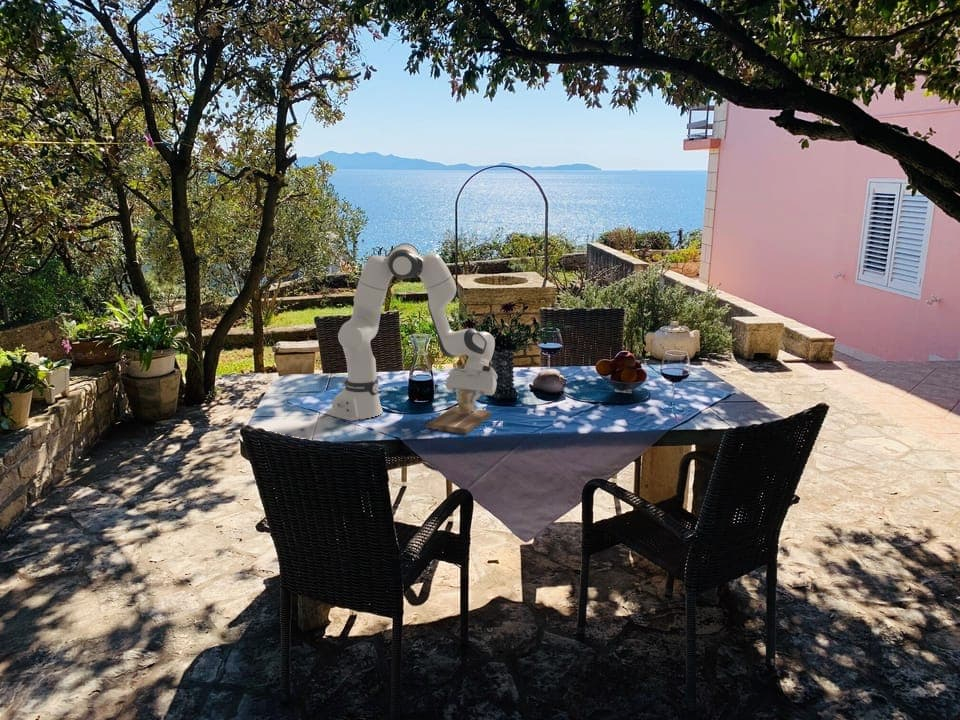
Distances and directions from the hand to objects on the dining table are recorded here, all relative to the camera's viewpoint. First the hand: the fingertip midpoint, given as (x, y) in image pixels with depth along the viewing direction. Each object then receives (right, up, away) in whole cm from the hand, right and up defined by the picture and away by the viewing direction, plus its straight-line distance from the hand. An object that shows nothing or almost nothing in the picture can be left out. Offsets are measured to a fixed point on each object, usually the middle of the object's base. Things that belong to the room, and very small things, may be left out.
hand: (465, 401), depth 262 cm
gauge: (0, -4, +2) cm, 5 cm away
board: (-2, -8, -3) cm, 8 cm away
